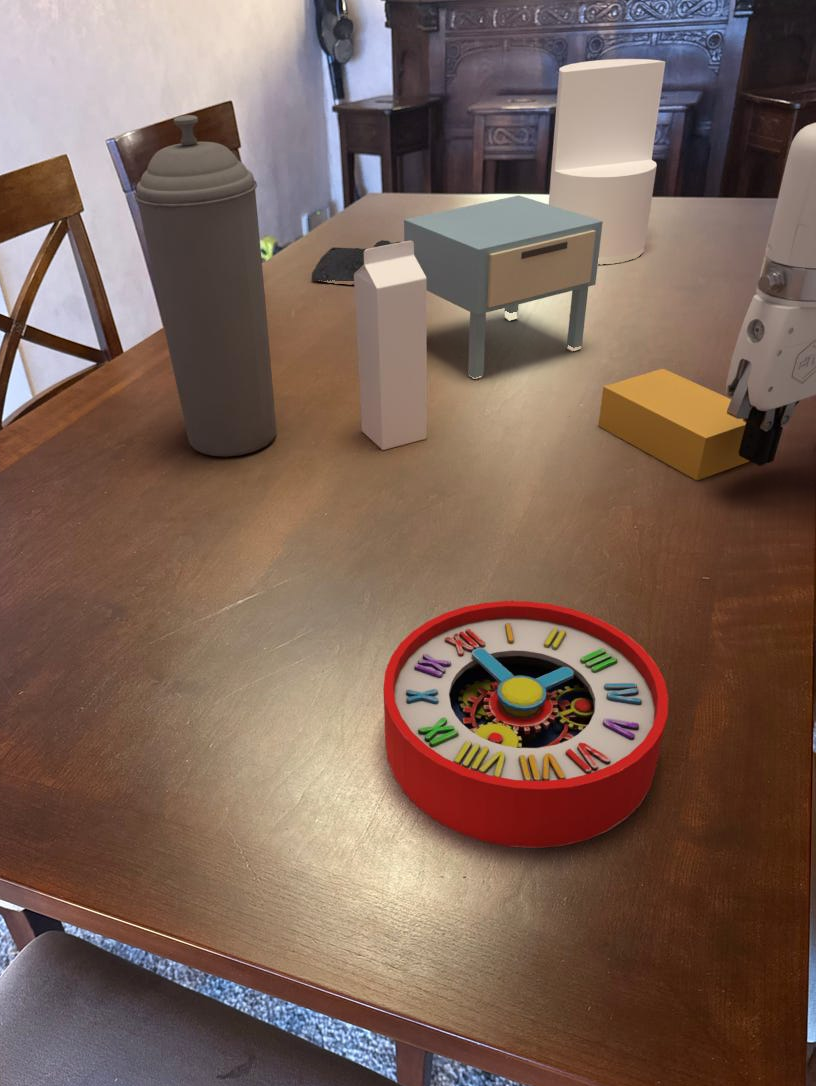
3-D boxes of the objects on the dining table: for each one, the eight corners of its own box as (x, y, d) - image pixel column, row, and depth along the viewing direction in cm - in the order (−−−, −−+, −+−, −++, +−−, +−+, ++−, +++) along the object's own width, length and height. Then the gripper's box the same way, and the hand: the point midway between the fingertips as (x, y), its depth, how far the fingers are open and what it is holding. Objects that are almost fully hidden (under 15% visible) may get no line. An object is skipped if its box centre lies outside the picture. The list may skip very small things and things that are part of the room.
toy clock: (490, 837, 54) (334, 656, 68) (486, 894, 57) (339, 712, 71) (733, 714, 60) (545, 573, 74) (716, 773, 64) (539, 628, 78)
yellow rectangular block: (758, 458, 99) (769, 416, 96) (696, 480, 96) (705, 438, 93) (656, 407, 110) (662, 368, 107) (598, 425, 107) (603, 386, 104)
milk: (427, 439, 107) (428, 246, 93) (381, 451, 106) (376, 257, 92) (403, 420, 112) (402, 233, 98) (360, 431, 110) (351, 242, 96)
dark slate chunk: (335, 257, 167) (333, 230, 164) (449, 262, 160) (450, 234, 157) (304, 283, 156) (302, 255, 153) (425, 290, 149) (425, 260, 146)
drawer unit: (591, 352, 125) (606, 222, 114) (477, 384, 119) (482, 250, 108) (511, 314, 138) (518, 195, 127) (405, 342, 132) (403, 219, 121)
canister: (211, 474, 104) (153, 134, 82) (165, 436, 112) (101, 119, 90) (303, 441, 109) (272, 112, 87) (253, 407, 117) (212, 100, 95)
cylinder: (530, 243, 166) (543, 65, 148) (619, 232, 168) (641, 55, 150) (566, 270, 153) (584, 79, 135) (661, 258, 154) (691, 67, 137)
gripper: (778, 305, 77) (730, 493, 88) (896, 272, 81) (836, 454, 93) (711, 283, 82) (674, 463, 93) (826, 253, 87) (777, 427, 98)
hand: (755, 458), depth 93 cm, fingers closed
